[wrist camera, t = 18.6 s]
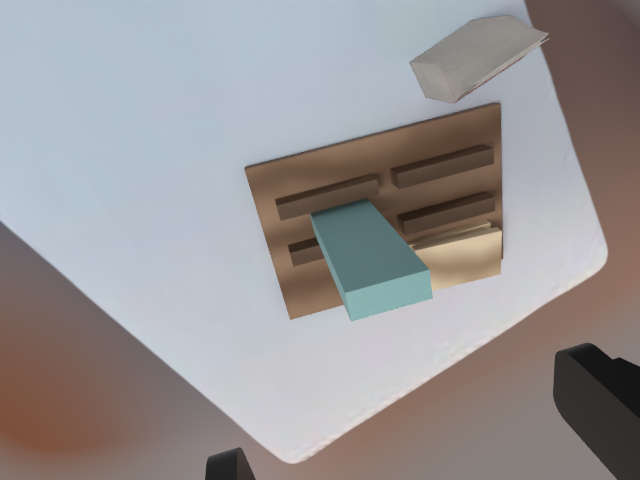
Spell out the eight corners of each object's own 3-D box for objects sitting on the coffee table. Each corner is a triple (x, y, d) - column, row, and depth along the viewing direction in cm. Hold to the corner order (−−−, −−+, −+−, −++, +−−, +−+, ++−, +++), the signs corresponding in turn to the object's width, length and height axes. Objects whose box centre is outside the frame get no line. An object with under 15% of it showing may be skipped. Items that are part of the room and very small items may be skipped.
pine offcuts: (399, 240, 45) (409, 252, 43) (486, 216, 46) (501, 226, 43) (406, 288, 48) (416, 302, 45) (488, 264, 49) (502, 277, 46)
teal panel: (308, 211, 42) (344, 292, 28) (365, 196, 42) (429, 269, 28) (313, 231, 43) (350, 321, 29) (368, 217, 43) (432, 298, 29)
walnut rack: (244, 167, 40) (244, 175, 37) (494, 102, 42) (512, 106, 39) (289, 314, 48) (292, 330, 45) (498, 255, 50) (513, 266, 47)
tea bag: (409, 62, 39) (460, 65, 30) (471, 20, 38) (542, 9, 29) (425, 97, 40) (478, 109, 31) (485, 57, 40) (556, 58, 31)
